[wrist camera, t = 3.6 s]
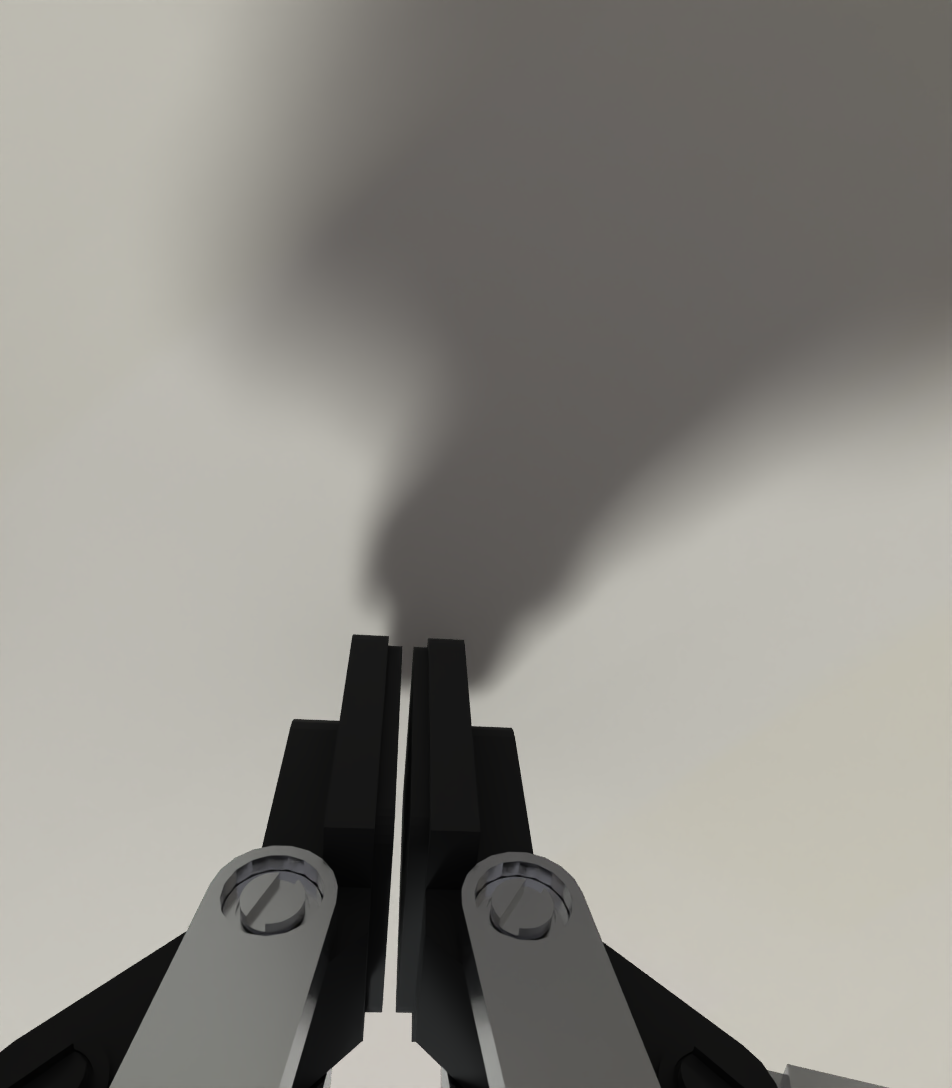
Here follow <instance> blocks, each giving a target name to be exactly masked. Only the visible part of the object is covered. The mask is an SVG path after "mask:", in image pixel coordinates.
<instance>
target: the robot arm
mask: <svg viewBox="0 0 952 1088" xmlns="http://www.w3.org/2000/svg"><path fill="white" fill-rule="evenodd" d="M388 642H389V636H373V635H353V636H352V642H351V649H350V656H349V662H348V669H347V675H346V682H345V689H344V695H343V702H342V709H341V715H340V721H328V720H304V719H294V720H293V721H292V724H291V727H290V731H289V736H288V740H287V744H286V748H285V752H284V757H283V761H282V765H281V769H280V774H279V778H278V782H277V786H276V791H275V795H274V799H273V803H272V807H271V812H270V816H269V820H268V824H267V829H266V833H265V837H264V841H263V846H262V848H259V849H254V850H251V851H249V852H247V853H245V854H243V855H240V856H238V857H236V858H234V859H233V860H232V861H231V862H229V863H228V864H227V865H226V866H224V867H223V868H222V869H220V871H219V872H218V874H217V875H216V876H215V878H214V879H213V881H212V882H211V883H210V885H209V887H208V889H207V891H206V893H205V895H204V897H203V899H202V901H201V903H200V905H199V907H198V909H197V911H196V913H195V915H194V917H193V919H192V922H191V924H190V926H189V928H188V930H187V931H186V932H185V933H183V934H181V935H180V936H178V937H177V938H175V939H174V940H172V941H170V942H169V943H167V944H166V945H164V946H163V947H161V948H159V949H158V950H156V951H155V952H153V953H152V954H150V955H149V956H147V957H145V958H144V959H142V960H141V961H139V962H138V963H136V964H134V965H133V966H131V967H130V968H128V969H127V970H125V971H123V972H122V973H120V974H119V975H117V976H116V977H114V978H113V979H111V980H109V981H108V982H106V983H105V984H103V985H102V986H100V987H98V988H97V989H95V990H94V991H92V992H91V993H89V994H87V995H86V996H84V997H83V998H81V999H80V1000H78V1001H77V1002H75V1003H73V1004H72V1005H70V1006H69V1007H67V1008H66V1009H64V1010H62V1011H61V1012H59V1013H58V1014H56V1015H55V1016H53V1017H51V1018H50V1019H48V1020H47V1021H45V1022H44V1023H42V1024H41V1025H39V1026H37V1027H36V1028H34V1029H33V1030H31V1031H30V1032H28V1033H26V1034H25V1035H23V1036H22V1037H20V1038H19V1039H17V1040H16V1041H14V1042H13V1043H11V1044H10V1045H9V1046H8V1047H6V1048H5V1049H4V1050H3V1051H1V1052H0V1088H330V1085H331V1074H332V1067H333V1066H334V1065H336V1064H337V1063H338V1062H339V1061H340V1060H341V1059H342V1058H344V1057H345V1056H346V1055H347V1054H348V1053H349V1052H350V1051H351V1050H353V1049H354V1048H355V1047H356V1046H357V1045H358V1044H359V1043H360V1042H362V1041H363V1031H364V1017H365V1012H382V1005H383V990H384V975H385V960H386V945H387V930H388V915H389V900H390V885H391V871H392V856H393V840H394V822H395V801H396V779H397V756H398V734H399V711H400V689H401V666H402V646H388ZM396 1012H403V1013H412V1042H417V1043H418V1044H419V1045H420V1046H421V1047H422V1048H423V1049H424V1050H425V1051H426V1052H427V1053H428V1054H429V1055H430V1056H431V1057H432V1058H433V1059H434V1060H435V1061H436V1062H437V1063H438V1064H439V1065H440V1066H441V1088H888V1087H883V1086H879V1085H875V1084H871V1083H866V1082H862V1081H858V1080H854V1079H849V1078H845V1077H841V1076H836V1075H832V1074H828V1073H824V1072H819V1071H815V1070H811V1069H807V1068H802V1067H798V1066H794V1065H790V1064H787V1066H786V1068H785V1071H784V1074H781V1073H777V1072H773V1071H769V1070H767V1069H766V1068H765V1067H764V1065H763V1064H762V1062H760V1061H759V1060H758V1059H757V1058H756V1057H755V1056H754V1055H753V1054H752V1053H751V1052H750V1051H749V1050H747V1049H746V1048H745V1047H744V1046H743V1045H742V1044H740V1043H739V1042H738V1041H736V1040H735V1039H734V1038H732V1037H731V1036H729V1035H728V1034H727V1033H725V1032H724V1031H723V1030H721V1029H720V1028H719V1027H717V1026H716V1025H715V1024H713V1023H712V1022H711V1021H709V1020H708V1019H706V1018H705V1017H704V1016H702V1015H701V1014H700V1013H698V1012H697V1011H696V1010H694V1009H693V1008H692V1007H690V1006H689V1005H687V1004H686V1003H685V1002H683V1001H682V1000H681V999H679V998H678V997H677V996H675V995H674V994H673V993H671V992H670V991H668V990H667V989H666V988H664V987H663V986H662V985H660V984H659V983H658V982H656V981H655V980H654V979H652V978H651V977H650V976H648V975H647V974H645V973H644V972H643V971H641V970H640V969H639V968H637V967H636V966H635V965H633V964H632V963H631V962H629V961H628V960H626V959H625V958H624V957H622V956H621V955H620V954H618V953H617V952H616V951H614V950H613V949H612V948H610V947H609V946H607V945H606V944H605V943H603V942H602V940H601V937H600V935H599V932H598V930H597V927H596V925H595V922H594V920H593V917H592V915H591V912H590V910H589V907H588V905H587V902H586V900H585V897H584V895H583V892H582V891H581V889H580V887H579V886H578V884H577V882H576V881H575V879H574V878H573V877H572V876H571V875H570V874H569V873H568V872H567V871H566V870H564V869H563V868H562V867H561V866H560V865H558V864H556V863H554V862H552V861H550V860H549V859H547V858H545V857H542V856H538V855H534V854H533V849H532V842H531V836H530V830H529V823H528V817H527V811H526V805H525V798H524V792H523V786H522V779H521V773H520V767H519V760H518V754H517V748H516V741H515V736H514V732H513V729H512V728H501V727H477V726H471V714H470V702H469V690H468V678H467V667H466V655H465V644H464V640H453V639H433V638H428V645H427V648H423V647H414V650H413V663H412V677H411V691H410V705H409V719H408V733H407V747H406V761H405V775H404V790H403V808H402V837H401V868H400V898H399V928H398V958H397V989H396Z"/></svg>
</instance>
